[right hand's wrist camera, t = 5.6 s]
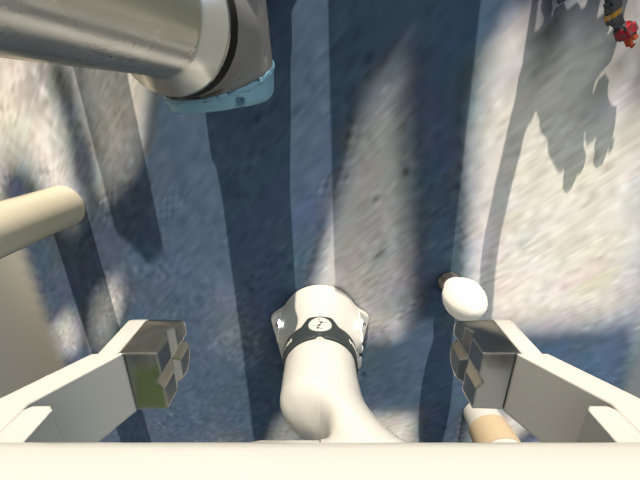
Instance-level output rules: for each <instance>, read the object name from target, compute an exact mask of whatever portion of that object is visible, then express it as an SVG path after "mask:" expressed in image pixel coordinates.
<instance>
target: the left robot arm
mask: <svg viewBox="0 0 640 480" xmlns="http://www.w3.org/2000/svg"><path fill="white" fill-rule="evenodd" d="M0 58H8V59H16V60H24V61H33V62H41V63H49V64H58V65H66V66H74V67H82V68H91V69H99V70H107V71H116V72H124V73H131V74H132V76H133V77H134V78H135V79H136V80H138V81H139V82H140V83H141V84H142V85H144V86H145V87H147V88H148V89H150V90H152V91H154V92H156V93H159V94H162V96H163V98H164V100H165V101H166V104H167V107H168V108H169V109H170V110H171V111H172V112H174V113H178V114H194V113H206V112H216V111H223V110H230V109H233V108H239V107H247V106H252V105H257V104H260V103H263V102H265V101H267V100H269V99H270V98H271V96H272V94H273V92H274V69H275V64H274V61H273V60H272V52H271V42H270V32H269V22H268V12H267V3H266V0H0Z"/></svg>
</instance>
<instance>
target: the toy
mask: <svg viewBox="0 0 640 480" xmlns="http://www.w3.org/2000/svg"><path fill="white" fill-rule="evenodd" d="M563 1H565V0H557V2H558V4H560V3H562V2H563ZM603 6H604V10H605V11H604V12H605V17H604V18H603V19H604V21H605V23H606V26H608V25H610V26H612V27H613V28H614V31H613V34H614V37H615V40H616V41H619V42H621V41H624V43H625V45H626V47H628V46H629V47H630V48H633V47H634V45H635V44H636V43H635V44H633V40H636V39H637V38H638V37H639V36H638V35H637V30H638V25H637V23H636V21H635V22H632V21H630V20H629V21H626V22H625V21H624V18H623V16H622V0H605V4H604V5H603Z"/></svg>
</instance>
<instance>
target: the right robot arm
mask: <svg viewBox="0 0 640 480" xmlns="http://www.w3.org/2000/svg"><path fill="white" fill-rule="evenodd" d="M271 322H272V325H273V329H274V332H275V336H276V339H277V343H278V346H279V350H280V353H281V356H282V370H283V380H282V387H281V395H280V408H281V411H282V414H283V417H284V418H285V420H286V422H287V423H288V425H289V426H290V428H291V429H292V430H293V431H294V432H295V433H296V434H297V435H298V436H299V437H301V438H303V439H304V440H259V441H254V442H190V443H108V442H99V441H100V440H102V439H103V438H104V437H105V436H107V435H108V434H109V433H110V432H111V431H113V430H114V429H115V428H116V427H117V426H119V425H120V424H121V423H122V422H124V421H125V420H126V419H127V418H128V417H130V416H131V415H132V414H133V413H134V412H136V411H137V410H136V409H155V408H168V407H169V405H170V403H171V402H172V400H173V398H174V396H175V394H176V392H177V390H178V388H177V382H178V381H180V380H181V379H183V378H184V376H185V374H186V372H187V370H188V366H189V362H190V349H189V345H188V344H187V343H186V342H185V341H184V340H183V338H184V337H185V335H186V333H187V331H186V326H185V323H184V322H183V321H182V320H130V321H128V322H127V323H126V324H125V325H124V326H123V328H122V329H121V330H120V331H119V332H118V333H117V334H116V335H115V336H114V337H113V338H112V339H111V340H110V341H109V343H108V344H107V345H106V346H105V347H104V348H103V349H102V350H101V351H100V352H99V353H98V354H91V355H89V356H87V357H85V358H83V359H81V360H79V361H77V362H75V363H73V364H71V365H69V366H66V367H64V368H62V369H60V370H58V371H56V372H54V373H52V374H50V375H48V376H46V377H44V378H42V379H40V380H38V381H35V382H33V383H31V384H29V385H27V386H25V387H23V388H21V389H19V390H17V391H15V392H13V393H11V394H9V395H7V396H4V397H2V398H0V480H640V399H639V398H637V397H635V396H633V395H631V394H629V393H627V392H625V391H623V390H621V389H619V388H617V387H615V386H613V385H611V384H609V383H606V382H604V381H602V380H600V379H598V378H596V377H594V376H592V375H590V374H588V373H586V372H584V371H582V370H580V369H578V368H576V367H573V366H571V365H569V364H567V363H565V362H563V361H561V360H559V359H557V358H555V357H553V356H551V355H549V354H542V353H541V352H540V351H539V350H538V349H537V348H536V347H535V346H534V345H533V344H532V342H531V341H530V340H529V339H528V338H527V337H526V336H525V335H524V334H523V333H522V332H521V331H520V330H519V329H518V327H517V326H516V325H515V324H514V323H513V322H512V321H510V320H508V319H504V320H476V321H456V323H455V325H454V331H453V333H454V335H455V337H456V338H457V340H456V341H455V342H454V343H453V344H452V345H451V350H450V361H451V366H452V370H453V372H454V374H455V376H456V378H457V379H459V380H460V381H462V382H463V388H462V390H463V392H464V394H465V396H466V398H467V400H468V401H469V403H470V405H471V407H472V408H484V409H504V410H503V411H505V412H506V413H507V414H508V415H509V416H511V417H512V418H513V419H514V420H515V421H517V422H518V423H519V424H520V425H521V426H523V427H524V428H525V429H526V430H528V431H529V432H530V433H531V434H532V435H534V436H535V437H536V438H537V439H538V440H540V441H541V442H542V443H408V442H406V441H404V440H403V439H401V438H399V437H398V436H397V435H395V434H394V433H392V432H391V431H390V430H389V429H388V428H386V427H385V426H384V425H383V424H382V423H381V422H380V421H379V420H378V419H377V418H376V417H375V416H374V415H373V413H372V412H371V411H370V410H369V408H368V407H367V405H366V404H365V402H364V400H363V398H362V395H361V391H360V387H359V383H358V378H357V370H358V369H359V368H361V363H362V358H361V356H359V353H362V352H363V346H362V343H363V339H364V336H365V332H366V329H367V325H368V322H369V315H368V314H367V313H366V312H365V311H363V310H362V309H360V308H358V307H357V306H356V305H355V304H354V302H353V301H352V300H351V298H350V297H349V296H348V295H347V294H346V293H344V292H343V291H341V290H339V289H337V288H335V287H332V286H327V285H313V286H308V287H305V288H303V289H301V290H299V291H297V292H296V293H294V294H293V295H292V296H291V297H290V298H289V300H288V301H287V302H286V304H285V305H284V306H283V307H282V308H280V309H278V310H277V311H275V312H274V313H273V314H272V315H271ZM277 323H278V324H277Z"/></svg>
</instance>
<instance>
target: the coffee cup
mask: <svg viewBox="0 0 640 480" xmlns="http://www.w3.org/2000/svg"><path fill="white" fill-rule="evenodd" d="M463 416H464V418H465V421H466V424H467V426H468V429H469V434H470V436H471V439H472V442H473V443H521V442H520V440H519V439H518V437H517V436H516V434H515V433H514V432H513V430H512V429H511V427H510V426H509V425H508V423H507V422H506V420H505V419H504V418H503V417H502V416H501V414H500V413H499V412H498V410H497V409H484V408H472V407H471V405H470V403H469V404H468V405H467V406H466V407H465V409H464V411H463Z"/></svg>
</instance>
